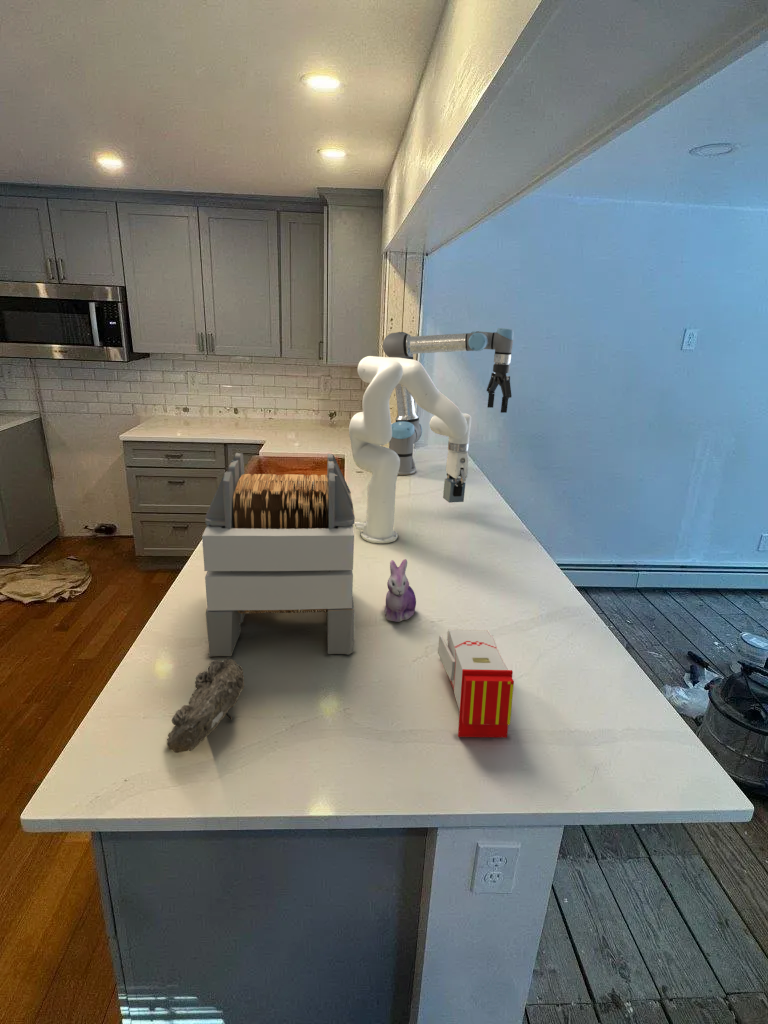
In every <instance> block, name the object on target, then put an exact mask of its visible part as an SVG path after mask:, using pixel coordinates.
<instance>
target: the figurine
mask: <svg viewBox="0 0 768 1024" xmlns="http://www.w3.org/2000/svg"><path fill="white" fill-rule="evenodd" d="M407 567H408V559H406V558H404V559H403V560H402V561H401V563H400V565H399V566H398V565H397V563H396V562H395V561H394V560H393V559H391V560H390V561H389V570H390V576H389V578H388V579H387V589H388V591H387V592H386V594H385V595H386V596H385V607H384V615H385V616H386V620H387V621H391V622H395V623H400V622H402V621H406V620H409V619H410V618H411V617H413V616H414V615H415V610H416V606H417V597H416V593H415V591H414V590H413V587H411V586H410V582H409V579H408V577H407V574H406V571H407Z"/></svg>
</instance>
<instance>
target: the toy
mask: <svg viewBox="0 0 768 1024" xmlns="http://www.w3.org/2000/svg"><path fill="white" fill-rule="evenodd" d="M446 640H447V643H446V641H445V639H444V636H443V635H442V634H439V637H438V646H437V656H438V657H439V659H440V661H441V663H442V666H443V668H444V670H445V672H446V674H447V677H448V679H449V681H450V684H451V687H452V690H453V693H454V697H455V701H456V705H457V708H458V711H459V714H458V715H459V716H458V730H457V731H458V732H457V737H458V738H508V731H509V726H510V725H511V717H512V707H513V697H514V696H513V695H514V684H515V680H514V679H513V673H514V671H513V670H512V669H508V667H507V665H506V662H505V661H504V659H503V658H502V655H501V653H500V651H499V649H498V647H497V643H496V639H495V637H494V635H493V634H491V632H490V631H489V629H467V628H466V629H465V628H463V629H461V628H460V629H459V628H448V630H447V639H446Z"/></svg>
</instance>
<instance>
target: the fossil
mask: <svg viewBox="0 0 768 1024" xmlns="http://www.w3.org/2000/svg"><path fill="white" fill-rule="evenodd" d="M243 670H244V669H243V667H242V665H240V664H237V662H236V661H235V660H234V659H232V658H231V659H227V658H226V659H224V660H223V661H222V660H217V659H212V660H211V661H210V663H209V665H208V666H207V671H201V672H199V673H198V674H197V675H196V676H195V680H194V684H195V685H194V687H195V689H194V690H193V693H192V694H191V697H190V698H189V700H188V704H184V705H182V706H181V707H180V709H177V710H176V711H175V713H174V715H173V716H172V718H171V723H172V724H173V727H172V730H171V731H170V732H168V734H167V738H166V741H167V742H166V745H167V749H168V750H169V751H173V752H174V753H176V754H178V753H182V752H188V751H189V752H192V751H193V750H195V748H196V747H197V746H199V744H200V743H201V742H203V741H204V740H205V739H206V738H207V737H208V736H209V735H210V734H211V733H212V732H214V730H215V729H217V727H218V726H219V724H220V722H221V721H222V720H223V719H224V718H225V716H226V717H227V719H229V720H233V717H232V715H230V714H229V710H230V709H231V708H234V706H235V704H236V703H237V702H238V699H239V697H240V695H241V693H242V691H243V690H245V689H244V688H245V675H244V671H243Z"/></svg>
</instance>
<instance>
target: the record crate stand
mask: <svg viewBox="0 0 768 1024" xmlns="http://www.w3.org/2000/svg"><path fill="white" fill-rule="evenodd" d="M244 460H245V459H244V453H243V452H241V453H240V452H235V454H234V456H233V458H232V460H230V463H229V465H228V467H227V470H226V471H225V472H224V473H223V475H222V478H221V479H220V482H219V484H218V487H217V489H216V491H215V494H214V495H213V497H212V500H211V502H210V505H209V507H208V509H207V512H206V514H205V517H204V523H205V525H206V527H205V529H204V531H203V533H202V535H201V540H202V553H203V554H202V556H203V566H204V567H203V569H204V572H206V574H205V576H204V580H205V581H204V583H205V597H206V609H205V620H206V621H205V622H206V634H207V639H208V640H207V641H208V653H207V655H208V657H211V658H216V657H232V654H233V652H234V649H235V647H236V645H237V643H238V640H239V637H240V635H241V624H243V623H244V619H245V615H246V614H272V613H273V614H285V613H286V614H288V613H289V614H291V613H293V614H295V613H299V614H300V613H316V612H317V613H326V635H327V639H326V640H327V654H328V655H351V654H352V653H353V652H354V638H355V637H354V636H355V634H354V633H355V606H354V605H355V604H354V596H353V589H354V588H353V587H354V573H353V570H354V554H355V553H354V552H355V551H354V549H355V532H354V527H353V525H355V522H356V521H355V520H356V515H355V511H354V503H353V499H352V492H351V490H350V488H349V485H348V484H347V481H346V479H345V477H344V475H343V472H342V470H341V469H340V466H339V463H338V461H337V459H336V457H335V455H334V453H327V461H326V462H327V466H326V467H327V469H326V470H327V471H326V472H327V473H326V474H321V475H320V476H319V475H318V474H310V475H308V474H307V475H306V474H301V473H299V474H294V473H293V474H292V473H285V474H284V473H283V474H278V475H277V474H276V473H273V474H272V473H262V474H261V473H258V474H257V473H252V474H251V473H245V461H244Z"/></svg>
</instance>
